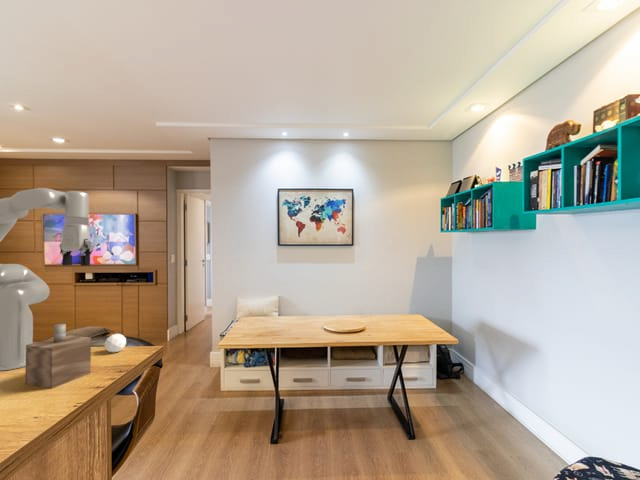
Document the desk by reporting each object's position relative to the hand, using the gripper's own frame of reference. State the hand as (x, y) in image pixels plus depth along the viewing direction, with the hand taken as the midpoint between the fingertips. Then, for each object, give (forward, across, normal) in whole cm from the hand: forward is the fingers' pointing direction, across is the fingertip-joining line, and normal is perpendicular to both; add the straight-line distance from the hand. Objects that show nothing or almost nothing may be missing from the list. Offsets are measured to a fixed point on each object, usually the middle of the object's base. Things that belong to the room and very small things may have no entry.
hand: (76, 265), depth 121 cm
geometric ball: (+38, +4, +14) cm, 41 cm away
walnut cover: (+38, +10, -12) cm, 41 cm away
